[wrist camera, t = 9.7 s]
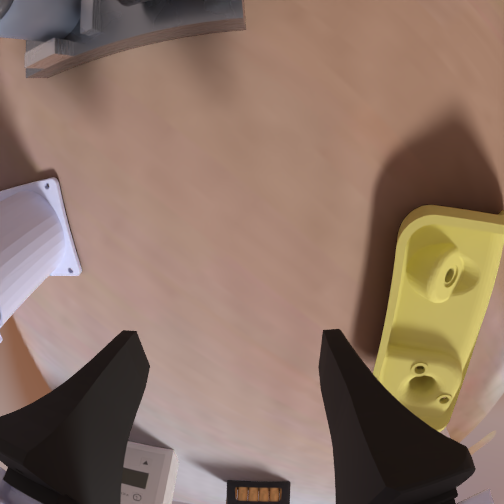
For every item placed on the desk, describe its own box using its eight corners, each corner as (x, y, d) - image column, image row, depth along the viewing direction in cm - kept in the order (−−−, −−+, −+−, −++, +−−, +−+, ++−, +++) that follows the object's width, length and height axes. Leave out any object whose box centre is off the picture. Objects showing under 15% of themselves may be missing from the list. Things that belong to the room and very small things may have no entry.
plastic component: (399, 210, 16) (539, 232, 12) (401, 189, 22) (508, 204, 18) (358, 421, 24) (453, 435, 19) (373, 371, 30) (454, 383, 25)
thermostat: (174, 449, 35) (156, 539, 21) (188, 479, 41) (177, 549, 28) (99, 432, 35) (71, 512, 22) (125, 467, 41) (108, 531, 28)
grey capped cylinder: (41, 52, 12) (-28, 49, 6) (37, 11, 10) (-26, -1, 5) (85, 25, 11) (18, 7, 6) (80, -17, 10) (20, -43, 4)
